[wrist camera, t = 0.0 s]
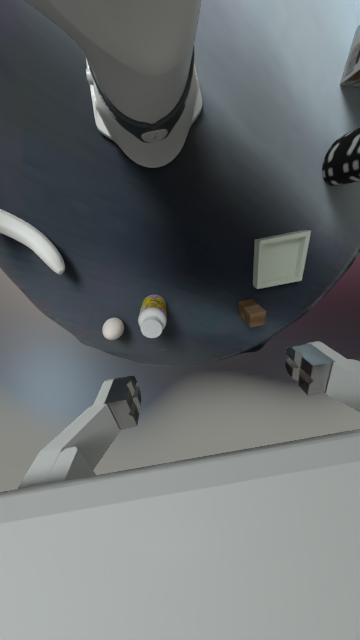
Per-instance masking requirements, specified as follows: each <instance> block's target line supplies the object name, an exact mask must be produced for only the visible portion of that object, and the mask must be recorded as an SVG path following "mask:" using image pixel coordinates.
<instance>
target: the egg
mask: <svg viewBox="0 0 360 640" xmlns="http://www.w3.org/2000/svg"><path fill="white" fill-rule="evenodd" d="M123 331H124V324H123V322H122V321H121V320H120V319H118V318H110V319H108V320H107V321H106V322H105V323H104V325H103V335H104V336H105V338H107V339H109V340H115V339H117V338H119V337H120V336H121V335H122V333H123Z"/></svg>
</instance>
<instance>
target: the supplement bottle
mask: <svg viewBox="0 0 360 640" xmlns="http://www.w3.org/2000/svg"><path fill="white" fill-rule="evenodd" d="M138 322H139V326H140V327H141V332H142V334H143V335H144V336H146V337H148V338H155V337H158V336H159V335H160V334H161V333H162V330H163V329H164V328H165V326H166V322H167V317H166V302H165V300H164V299H163V298H162V297H161V296H158V295H150V296H148V297H146V298H145V299H144V301H143V303H142V307H141V311H140V315H139V319H138Z"/></svg>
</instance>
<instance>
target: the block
mask: <svg viewBox="0 0 360 640" xmlns="http://www.w3.org/2000/svg"><path fill="white" fill-rule="evenodd" d="M239 315H240V316H241V317H242V318H243V320H244V321H245V322H246V323H247V325H248V326H249V327H255V326H260V325H265V317H266V311H265V310H264V309H263V308H262V307H261V306H259V305H258V304H257V303H256V302H255V301H254V300H253V299H249V300H243V301H239Z"/></svg>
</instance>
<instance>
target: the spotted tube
mask: <svg viewBox="0 0 360 640" xmlns="http://www.w3.org/2000/svg"><path fill="white" fill-rule="evenodd" d="M322 173H323V178H324V180H325V182H326V183H327V184H329V185H332V186H336V185H342V184H347V183H352V182H358V181H360V128H358V129H356V130H354V131H352V132H349V133H347V134H345V135H343V136H342V137H340V138H339V139H338V140H336V141H335V142H334V144H333V145H332V146H331V147H330V149H329V150H328V152H327V154H326V156H325V159H324V162H323V168H322Z"/></svg>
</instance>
